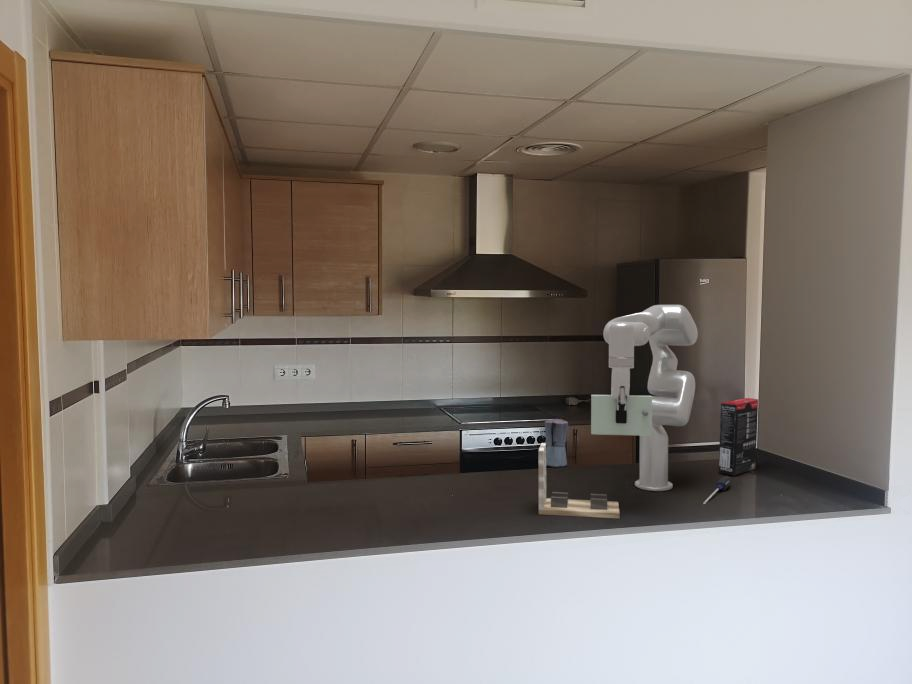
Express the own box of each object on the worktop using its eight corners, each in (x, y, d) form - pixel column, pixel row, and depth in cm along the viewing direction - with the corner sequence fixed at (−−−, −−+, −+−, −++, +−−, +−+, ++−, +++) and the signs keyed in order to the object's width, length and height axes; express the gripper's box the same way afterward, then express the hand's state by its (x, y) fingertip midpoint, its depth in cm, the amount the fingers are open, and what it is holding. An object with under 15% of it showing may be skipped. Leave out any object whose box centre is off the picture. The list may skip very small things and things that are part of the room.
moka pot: (570, 461, 267) (570, 412, 266) (566, 470, 252) (566, 419, 251) (546, 460, 270) (546, 411, 269) (541, 469, 255) (541, 418, 254)
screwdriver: (709, 505, 208) (709, 494, 207) (697, 503, 210) (698, 492, 210) (732, 487, 228) (733, 476, 228) (721, 485, 230) (722, 474, 230)
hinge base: (541, 502, 212) (541, 442, 211) (618, 506, 208) (618, 445, 206) (538, 514, 201) (538, 451, 200) (619, 518, 196) (619, 453, 195)
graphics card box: (740, 466, 256) (741, 396, 255) (757, 469, 251) (759, 398, 249) (717, 473, 245) (718, 401, 244) (736, 477, 240) (737, 403, 238)
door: (591, 432, 206) (591, 394, 205) (650, 434, 203) (650, 395, 202) (591, 434, 202) (591, 396, 202) (652, 436, 199) (652, 397, 199)
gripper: (607, 360, 211) (606, 417, 212) (610, 364, 195) (609, 426, 196) (631, 361, 210) (630, 418, 210) (636, 365, 194) (635, 427, 195)
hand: (620, 421), depth 203 cm, fingers closed on door, 2 cm apart
